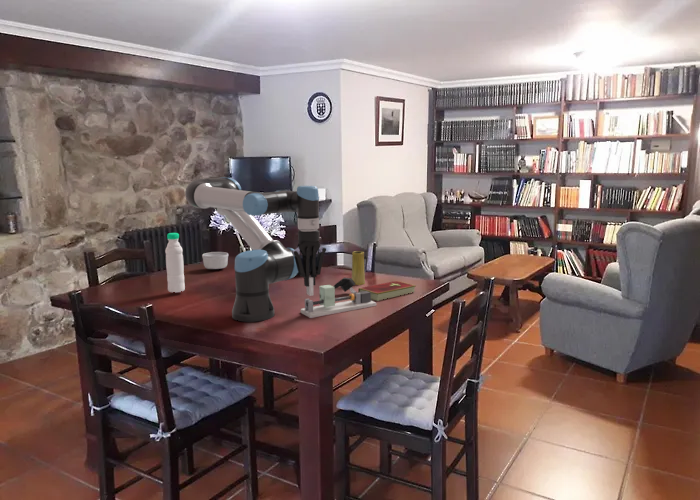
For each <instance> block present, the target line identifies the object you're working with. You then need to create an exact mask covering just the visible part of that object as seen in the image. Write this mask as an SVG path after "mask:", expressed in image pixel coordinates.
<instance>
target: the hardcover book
mask: <svg viewBox="0 0 700 500" xmlns="http://www.w3.org/2000/svg"><path fill="white" fill-rule="evenodd" d="M416 286H417V285H415V284H411V283H408V282H405V281H399V280H392V281H387V282H383V283H378V284H373V285H366V286H363V287H358V292H362V291H368V292H371V300H372V301H377V302H378V301H384V300H388V299H392V298H397V297H400V295H401V296H404V294H405V295H407V294H408V293H409V294H412V293H411V292H413V293H415V287H416ZM387 298H388V299H387ZM383 299H384V300H383Z"/></svg>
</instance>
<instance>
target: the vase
mask: <svg viewBox="0 0 700 500" xmlns="http://www.w3.org/2000/svg"><path fill="white" fill-rule="evenodd" d="M351 261H352V263H351V278H352V280H353V281H354V282H355V285H354V286H362V285H365V284H366V280H365V279H366V278H365V277H366V275H365V252H364V251H362V250H361V251H360V250H359V251H358V250H355V251H352V253H351Z"/></svg>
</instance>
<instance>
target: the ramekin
mask: <svg viewBox="0 0 700 500" xmlns="http://www.w3.org/2000/svg"><path fill="white" fill-rule="evenodd" d="M201 256H202V262H203V267H204V268H205V269H207V270H219V269H224V268H227V266H228V262H229V261H228V260H229V253H228V252H224V251H211V252H206V253H205V252H204V253H203V254H202V255H201Z"/></svg>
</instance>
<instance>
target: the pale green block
mask: <svg viewBox="0 0 700 500" xmlns="http://www.w3.org/2000/svg"><path fill="white" fill-rule="evenodd" d="M333 286H334V285H331V284H326V285H325V284H324V285H319V287H318V288H319V301H321V300H324V303H323V304H319V306H321V305H324V307H330V306H335V303H336V301H335V298H336V297H335V296H336V291H335V290H336V289H335V287H333Z"/></svg>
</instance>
